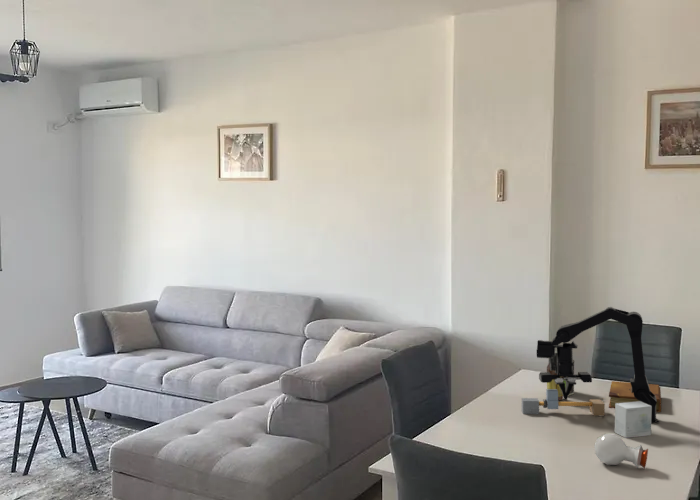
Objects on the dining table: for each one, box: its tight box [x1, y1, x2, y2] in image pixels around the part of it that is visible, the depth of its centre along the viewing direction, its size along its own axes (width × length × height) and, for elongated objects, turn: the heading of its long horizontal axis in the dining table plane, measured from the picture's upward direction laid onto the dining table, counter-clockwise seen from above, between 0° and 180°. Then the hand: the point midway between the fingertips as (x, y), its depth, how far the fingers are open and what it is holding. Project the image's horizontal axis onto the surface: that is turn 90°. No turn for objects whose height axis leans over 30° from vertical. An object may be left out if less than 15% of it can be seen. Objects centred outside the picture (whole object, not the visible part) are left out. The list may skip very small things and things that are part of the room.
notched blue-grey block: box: [545, 388, 559, 410], centre depth 261 cm, size 4×3×7 cm
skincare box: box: [613, 401, 652, 438], centre depth 235 cm, size 10×6×10 cm, turn 105°
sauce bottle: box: [546, 350, 564, 402], centre depth 279 cm, size 7×6×20 cm
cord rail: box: [521, 397, 606, 417], centre depth 260 cm, size 30×6×5 cm, turn 84°
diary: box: [608, 380, 662, 413], centre depth 273 cm, size 23×19×6 cm
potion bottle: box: [593, 432, 649, 470], centre depth 206 cm, size 9×10×15 cm
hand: (565, 399), depth 260 cm, fingers closed
